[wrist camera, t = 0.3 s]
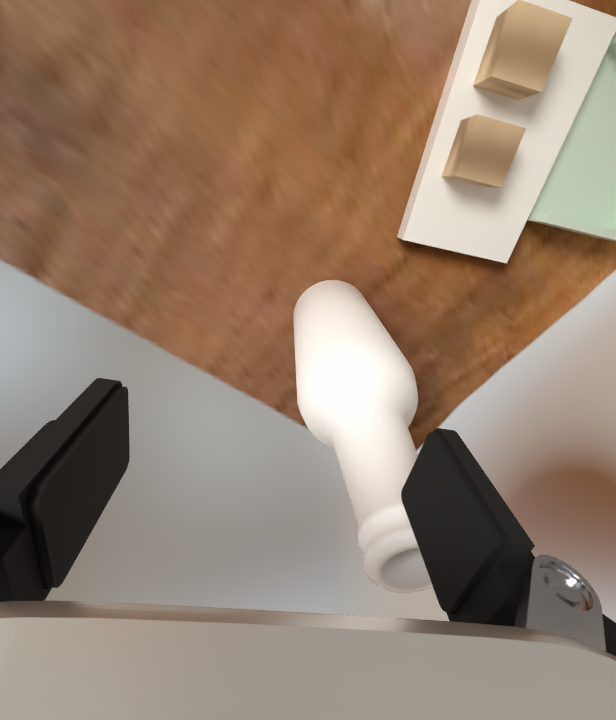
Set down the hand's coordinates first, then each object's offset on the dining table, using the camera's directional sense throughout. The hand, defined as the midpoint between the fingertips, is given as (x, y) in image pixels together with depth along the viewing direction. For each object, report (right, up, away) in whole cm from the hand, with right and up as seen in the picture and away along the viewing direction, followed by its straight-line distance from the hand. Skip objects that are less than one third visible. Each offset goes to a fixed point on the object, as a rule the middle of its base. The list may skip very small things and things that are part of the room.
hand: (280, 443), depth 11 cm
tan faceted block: (+18, +28, +18) cm, 38 cm away
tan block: (+16, +22, +21) cm, 34 cm away
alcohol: (+3, +8, +30) cm, 31 cm away
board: (+18, +24, +22) cm, 38 cm away
